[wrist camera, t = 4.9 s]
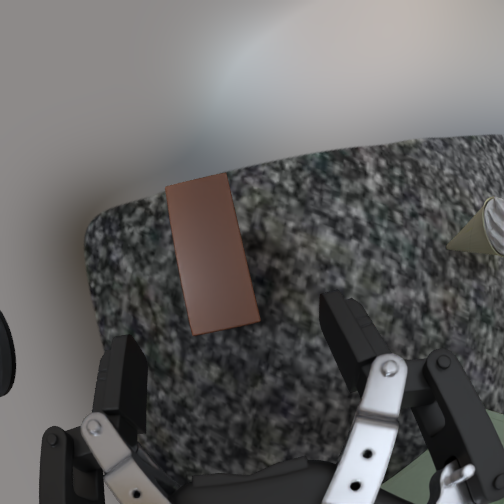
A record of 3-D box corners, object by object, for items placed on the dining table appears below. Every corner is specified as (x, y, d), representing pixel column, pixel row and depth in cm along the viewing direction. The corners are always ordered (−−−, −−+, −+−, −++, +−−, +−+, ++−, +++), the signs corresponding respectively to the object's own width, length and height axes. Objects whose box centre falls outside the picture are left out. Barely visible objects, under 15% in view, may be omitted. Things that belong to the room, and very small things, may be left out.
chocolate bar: (216, 324, 23) (192, 336, 12) (198, 240, 24) (164, 186, 13) (253, 316, 23) (261, 321, 12) (233, 232, 24) (226, 171, 13)
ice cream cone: (427, 266, 24) (551, 224, 9) (430, 217, 25) (538, 151, 10) (462, 277, 24) (578, 247, 9) (464, 230, 25) (568, 181, 10)
